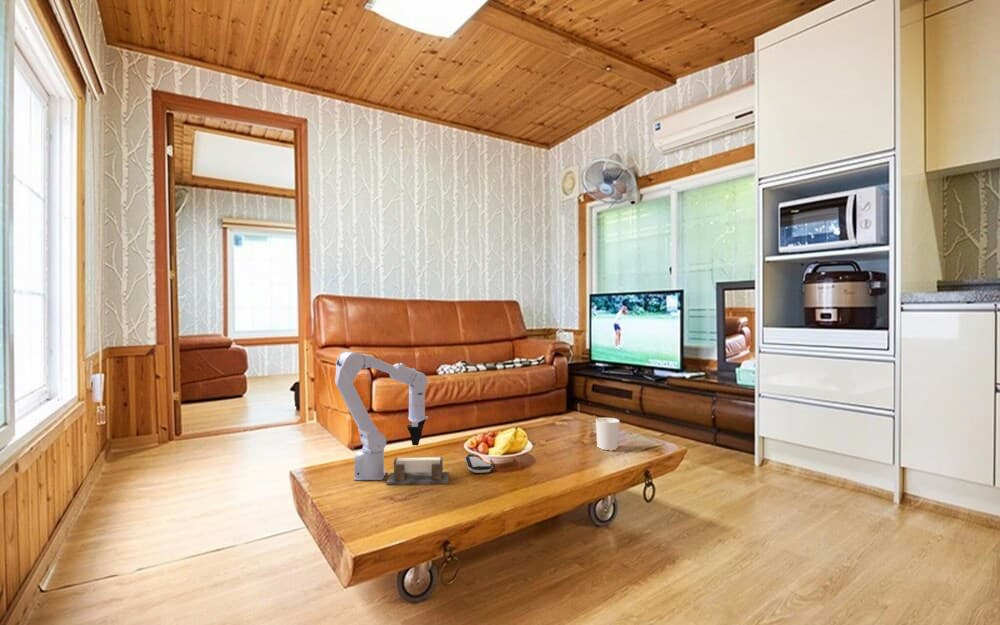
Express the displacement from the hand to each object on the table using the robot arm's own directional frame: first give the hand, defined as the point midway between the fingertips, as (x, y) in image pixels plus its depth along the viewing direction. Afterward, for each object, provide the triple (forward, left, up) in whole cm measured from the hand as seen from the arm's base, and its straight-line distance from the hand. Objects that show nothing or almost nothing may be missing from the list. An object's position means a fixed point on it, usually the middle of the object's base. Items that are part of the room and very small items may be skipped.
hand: (416, 442), depth 171 cm
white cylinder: (+77, +21, -10) cm, 80 cm away
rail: (+2, -12, -6) cm, 14 cm away
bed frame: (+2, -12, -9) cm, 15 cm away
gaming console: (+23, +2, -10) cm, 25 cm away
